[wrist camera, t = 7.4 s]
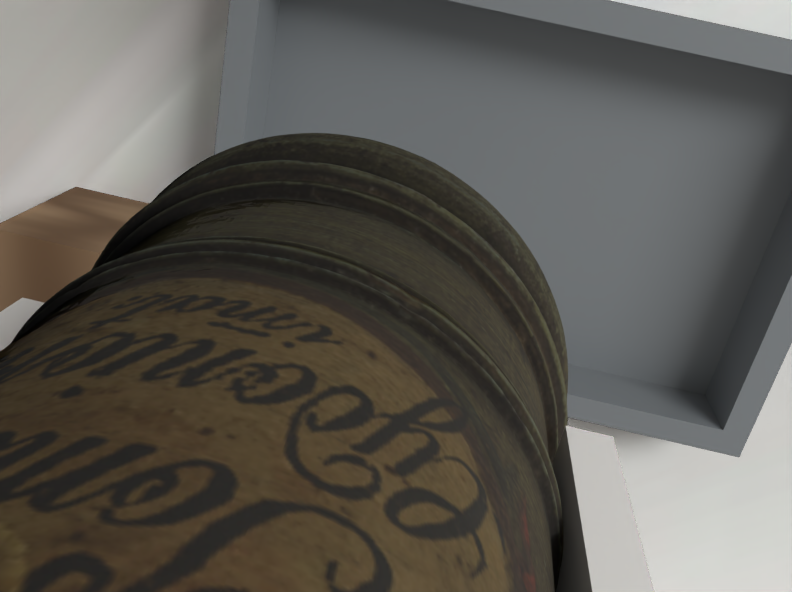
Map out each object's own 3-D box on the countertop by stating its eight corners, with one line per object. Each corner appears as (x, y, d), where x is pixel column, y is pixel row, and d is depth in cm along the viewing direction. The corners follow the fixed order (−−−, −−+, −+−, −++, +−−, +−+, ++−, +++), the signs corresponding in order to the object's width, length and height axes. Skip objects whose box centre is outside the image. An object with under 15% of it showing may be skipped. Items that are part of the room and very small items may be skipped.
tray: (224, 297, 33) (196, 330, 30) (267, -72, 27) (238, -80, 24) (714, 410, 33) (739, 457, 29) (867, 57, 27) (918, 67, 24)
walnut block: (73, 271, 34) (-8, 327, 28) (76, 186, 32) (-10, 227, 27) (159, 291, 34) (94, 351, 28) (165, 207, 32) (98, 253, 27)
